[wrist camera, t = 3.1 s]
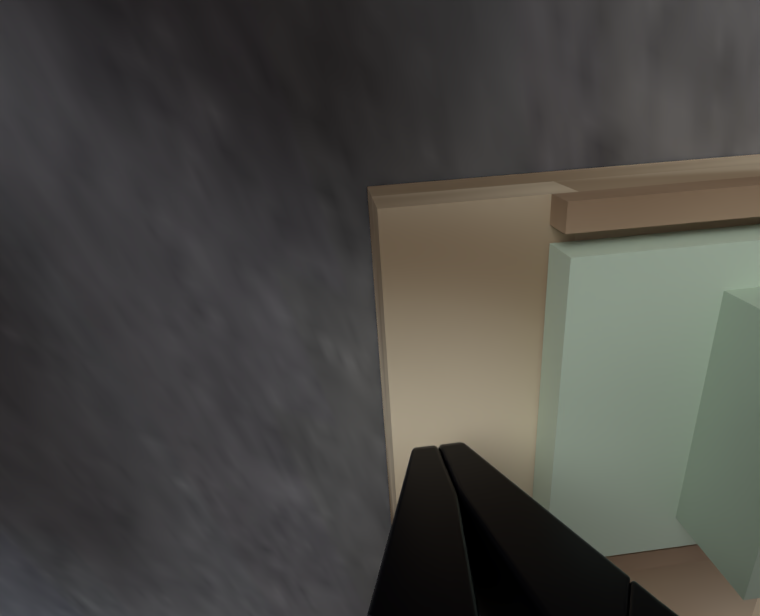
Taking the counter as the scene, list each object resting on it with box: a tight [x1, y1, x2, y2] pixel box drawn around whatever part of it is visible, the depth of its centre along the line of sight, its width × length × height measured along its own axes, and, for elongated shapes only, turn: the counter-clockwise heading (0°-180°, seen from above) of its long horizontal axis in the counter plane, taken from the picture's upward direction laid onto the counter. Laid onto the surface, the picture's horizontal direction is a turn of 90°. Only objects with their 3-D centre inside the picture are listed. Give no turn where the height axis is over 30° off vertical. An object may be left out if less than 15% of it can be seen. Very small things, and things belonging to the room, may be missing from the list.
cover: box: [532, 224, 760, 600], centre depth 9 cm, size 6×6×3 cm
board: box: [367, 154, 760, 616], centre depth 13 cm, size 18×13×3 cm
